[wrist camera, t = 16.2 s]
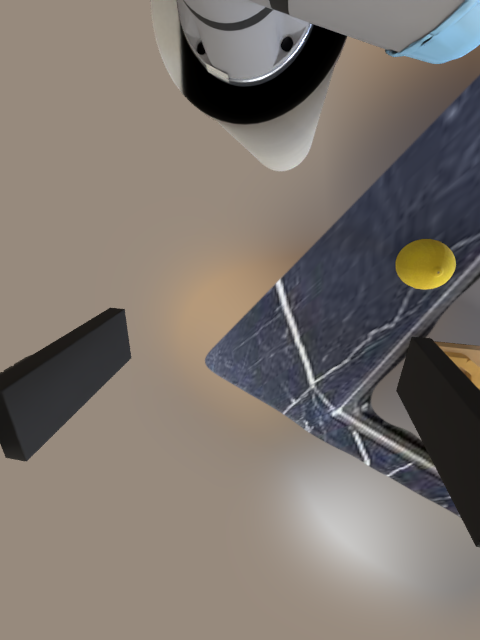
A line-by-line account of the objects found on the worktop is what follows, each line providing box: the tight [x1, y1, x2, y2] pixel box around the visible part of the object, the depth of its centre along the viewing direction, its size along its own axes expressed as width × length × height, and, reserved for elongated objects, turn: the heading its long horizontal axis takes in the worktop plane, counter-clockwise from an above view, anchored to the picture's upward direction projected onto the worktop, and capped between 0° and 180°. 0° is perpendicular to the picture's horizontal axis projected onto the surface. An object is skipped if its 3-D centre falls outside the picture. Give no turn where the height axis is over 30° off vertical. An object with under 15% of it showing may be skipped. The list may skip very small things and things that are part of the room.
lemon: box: [396, 239, 456, 289], centre depth 34 cm, size 6×6×8 cm
